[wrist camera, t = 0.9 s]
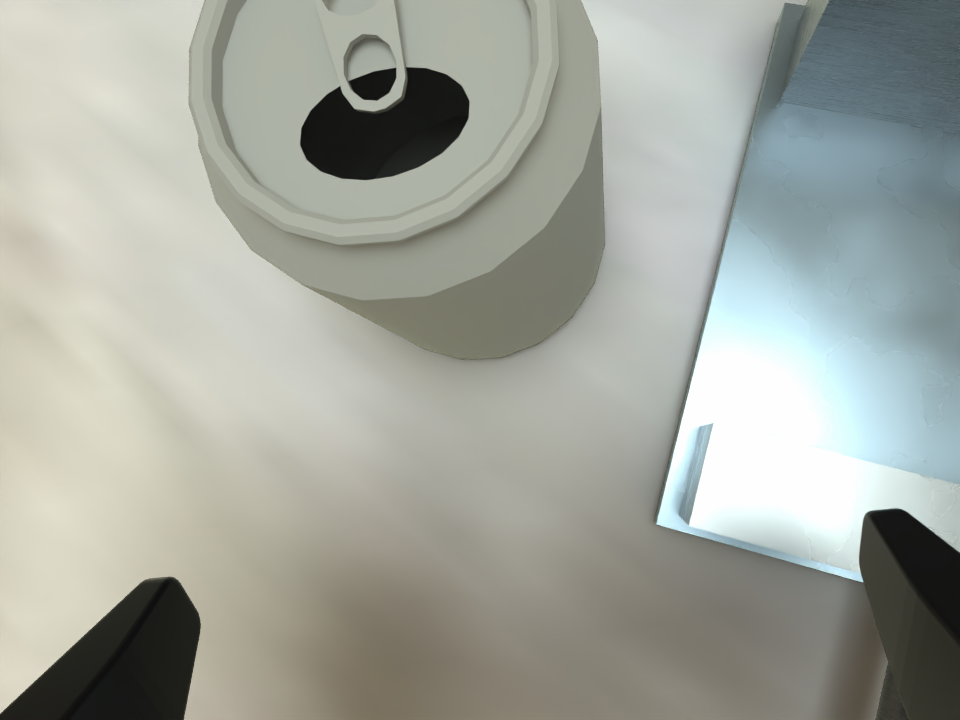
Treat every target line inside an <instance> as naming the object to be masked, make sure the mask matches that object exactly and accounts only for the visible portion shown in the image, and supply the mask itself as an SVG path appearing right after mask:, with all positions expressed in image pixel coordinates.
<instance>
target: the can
mask: <svg viewBox="0 0 960 720" xmlns="http://www.w3.org/2000/svg"><path fill="white" fill-rule="evenodd" d="M189 107H190V110H191V114H192V117H193V120H194V123H195V126H196V129H197V133H198V146H199V149H200V153H201V156H202V159H203V162H204V165H205V168H206V172H207V175H208V178H209V181H210V184H211V188H212V191H213V194H214V197H215V200H216V203H217V204H218V206H219V207H220V208H221V210H222V211H223V212H224V214H225V215H226V216H227V218H228V219H229V221H230V222H231V223H232V225H233V226H234V227H235V229H236V230H237V231H238V233H239V234H240V235H241V237H242V238H243V240H244V241H245V242H246V244H247V245H248V246H249V248H250V249H251V250H252V251H253V252H255V253H256V254H258V255H259V256H261V257H262V258H264V259H265V260H267V261H268V262H269V263H271V264H272V265H274V266H275V267H277V268H278V269H280V270H281V271H283V272H284V273H286V274H287V275H289V276H290V277H292V278H293V279H294V280H296V281H297V282H299V283H300V284H302V285H304V286H306V287H308V288H310V289H311V290H313V291H315V292H317V293H319V294H321V295H323V296H325V297H327V298H328V299H330V300H332V301H334V302H336V303H338V304H340V305H342V306H344V307H346V308H347V309H349V310H351V311H353V312H355V313H357V314H359V315H361V316H363V317H364V318H366V319H368V320H370V321H372V322H374V323H376V324H378V325H380V326H382V327H383V328H385V329H387V330H389V331H391V332H393V333H395V334H397V335H399V336H401V337H402V338H404V339H406V340H408V341H410V342H412V343H414V344H416V345H418V346H419V347H421V348H423V349H426V350H430V351H433V352H437V353H440V354H444V355H448V356H451V357H455V358H459V359H479V358H499V357H504V356H506V355H509V354H512V353H514V352H517V351H520V350H522V349H525V348H527V347H530V346H533V345H535V344H538V343H540V342H541V341H543V340H544V339H545V338H546V337H548V336H549V335H550V334H551V333H553V332H554V331H555V330H556V329H558V328H559V327H560V326H561V325H563V324H564V323H565V322H566V321H568V320H569V319H570V318H571V317H572V316H573V314H574V313H575V311H576V310H577V308H578V307H579V305H580V304H581V302H582V301H583V299H584V298H585V296H586V295H587V293H588V292H589V290H590V289H591V287H592V286H593V284H594V282H595V278H596V275H597V271H598V268H599V264H600V261H601V257H602V253H603V250H604V246H605V229H604V193H603V158H602V122H601V95H600V76H599V56H598V40H597V38H596V35H595V33H594V31H593V28H592V26H591V23H590V21H589V18H588V16H587V14H586V11H585V9H584V6H583V4H582V2H581V0H205V1H204V4H203V7H202V11H201V14H200V17H199V20H198V23H197V26H196V29H195V33H194V36H193V39H192V42H191V45H190V48H189Z"/></svg>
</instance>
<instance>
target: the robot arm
mask: <svg viewBox="0 0 960 720" xmlns="http://www.w3.org/2000/svg"><path fill="white" fill-rule="evenodd" d="M859 566H860V571H861V575H862V579H863V582H864V585H865V589H866V592H867V595H868V598H869V601H870V605H871V608H872V611H873V614H874V617H875V621H876V624H877V627H878V630H879V633H880V637H881V640H882V643H883V646H884V649H885V653H886V656H887V659H888V662H889V665H890V669H891V672H892V675H893V678H894V681H895V684H896V687H897V690H898V693H899V696H900V698H901V701H902V703H903V705H904V708H905V710H906V713H907V715H908V717H909V720H960V552H958V551H957V550H956V549H955V548H953V547H952V546H951V545H949V544H948V543H947V542H945V541H944V540H943V539H942V538H940V537H939V536H938V535H936V534H935V533H934V532H933V531H931V530H930V529H929V528H927V527H926V526H925V525H924V524H922V523H921V522H920V521H918V520H917V519H916V518H914V517H913V516H912V515H911V514H909V513H908V512H906V511H905V510H902V509H899V508H892V509H882V510H871V511H868V512H867V513H866V514H865V515H864V518H863V524H862V532H861V541H860V550H859ZM200 627H201V623H200V617H199V614H198V612H197V610H196V608H195V606H194V605H193V603H192V601H191V600H190V598H189V597H188V595H187V593H186V592H185V590H184V588H183V587H182V585H181V583H180V582H179V581H178V580H177V579H175V578H174V577H162V578H151V579H147V580H145V581H143V582H141V583H140V584H139V585H138V586H137V587H136V588H135V589H134V590H132V591H131V592H130V593H129V594H128V595H127V596H126V597H125V598H124V599H123V600H122V601H121V602H120V603H118V604H117V605H116V606H115V607H114V608H113V609H112V610H111V611H110V612H109V613H108V614H107V615H106V616H105V617H103V618H102V619H101V620H100V621H99V622H98V623H97V624H96V625H95V626H94V627H93V628H92V629H91V630H90V631H88V632H87V633H86V634H85V635H84V636H83V637H82V638H81V639H80V640H79V641H78V642H77V643H76V644H75V645H73V646H72V647H71V648H70V649H69V650H68V651H67V652H66V653H65V654H64V655H63V656H62V657H61V658H59V659H58V660H57V661H56V662H55V663H54V664H53V665H52V666H51V667H50V668H49V669H48V670H47V671H46V672H44V673H43V674H42V675H41V676H40V677H39V678H38V679H37V680H36V681H35V682H34V683H33V684H32V685H31V686H29V687H28V688H27V689H26V690H25V691H24V692H23V693H22V694H21V695H20V696H19V697H18V698H17V699H16V700H14V701H13V702H12V703H11V704H10V705H9V706H8V707H7V708H6V709H5V710H4V711H3V712H2V713H0V720H184V715H185V710H186V705H187V699H188V694H189V689H190V683H191V678H192V673H193V667H194V662H195V657H196V651H197V646H198V641H199V635H200Z"/></svg>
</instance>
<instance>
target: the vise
mask: <svg viewBox="0 0 960 720" xmlns="http://www.w3.org/2000/svg"><path fill="white" fill-rule="evenodd" d="M892 508H899V509H902V510H905V511H906V512H908V513H909V514H911V515H912V516H913V517H914V518H916V519H917V520H918V521H920V522H921V523H922V524H924V525H925V526H926V527H927V528H929V529H930V530H931V531H933V532H934V533H935V534H936V535H938V536H939V537H940V538H942V539H943V540H944V541H945V542H947V543H948V544H949V545H951V546H952V547H953V548H955V549H956V550H957V551H958V552H960V0H808V2H807V4H806V6H802V5H795V4H789V3H785V5H784V7H783V10H782V12H781V15H780V17H779V20H778V23H777V27H776V31H775V35H774V39H773V43H772V47H771V51H770V55H769V59H768V63H767V67H766V72H765V76H764V80H763V84H762V88H761V92H760V96H759V100H758V104H757V108H756V112H755V116H754V120H753V124H752V128H751V132H750V136H749V140H748V144H747V148H746V152H745V156H744V160H743V164H742V168H741V173H740V177H739V181H738V185H737V189H736V193H735V197H734V201H733V205H732V209H731V213H730V217H729V221H728V225H727V229H726V233H725V237H724V241H723V245H722V249H721V253H720V257H719V261H718V265H717V270H716V274H715V278H714V282H713V286H712V290H711V294H710V298H709V302H708V306H707V310H706V314H705V318H704V322H703V326H702V330H701V334H700V338H699V342H698V346H697V350H696V354H695V358H694V362H693V366H692V371H691V375H690V379H689V383H688V387H687V391H686V395H685V399H684V403H683V407H682V411H681V415H680V419H679V423H678V427H677V431H676V435H675V439H674V443H673V447H672V451H671V455H670V459H669V463H668V467H667V472H666V476H665V480H664V484H663V488H662V492H661V496H660V500H659V504H658V508H657V512H656V516H655V520H654V521H655V523H656V524H657V525H660V526H664V527H668V528H671V529H675V530H678V531H682V532H685V533H689V534H692V535H696V536H700V537H703V538H707V539H710V540H714V541H717V542H721V543H724V544H728V545H732V546H735V547H739V548H742V549H746V550H749V551H753V552H756V553H760V554H764V555H767V556H771V557H774V558H778V559H781V560H785V561H789V562H792V563H796V564H799V565H803V566H806V567H810V568H813V569H817V570H821V571H824V572H828V573H831V574H835V575H838V576H842V577H845V578H849V579H853V580H856V581H860V582H863V579H862V575H861V571H860V566H859V550H860V541H861V532H862V524H863V518H864V515H865V514H866V513H867V512H868V511H871V510H882V509H892ZM863 583H864V582H863ZM875 720H909V717H908V715H907V713H906V710H905V708H904V705H903V703H902V701H901V698H900V696H899V693H898V690H897V687H896V684H895V681H894V678H893V675H892V672H891V669H890V665H889V662H888V666H887V670H886V674H885V679H884V683H883V688H882V692H881V697H880V701H879V706H878V710H877V714H876V719H875Z"/></svg>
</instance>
